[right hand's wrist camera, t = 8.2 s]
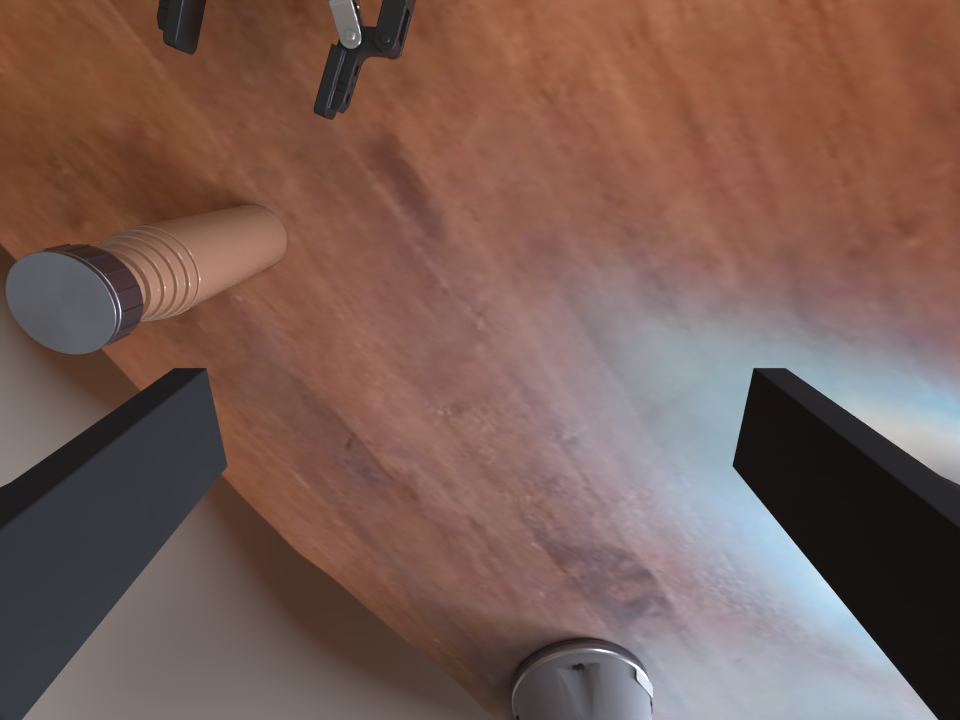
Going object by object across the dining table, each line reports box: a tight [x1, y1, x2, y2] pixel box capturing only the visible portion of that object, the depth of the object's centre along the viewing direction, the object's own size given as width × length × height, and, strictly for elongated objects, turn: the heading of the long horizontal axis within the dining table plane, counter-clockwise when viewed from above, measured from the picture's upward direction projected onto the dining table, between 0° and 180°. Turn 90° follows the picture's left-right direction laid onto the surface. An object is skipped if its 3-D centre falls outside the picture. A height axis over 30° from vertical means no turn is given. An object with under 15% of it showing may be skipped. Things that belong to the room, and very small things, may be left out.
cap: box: [6, 244, 144, 354], centre depth 22 cm, size 4×4×2 cm
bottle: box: [94, 204, 287, 322], centre depth 30 cm, size 5×5×19 cm
